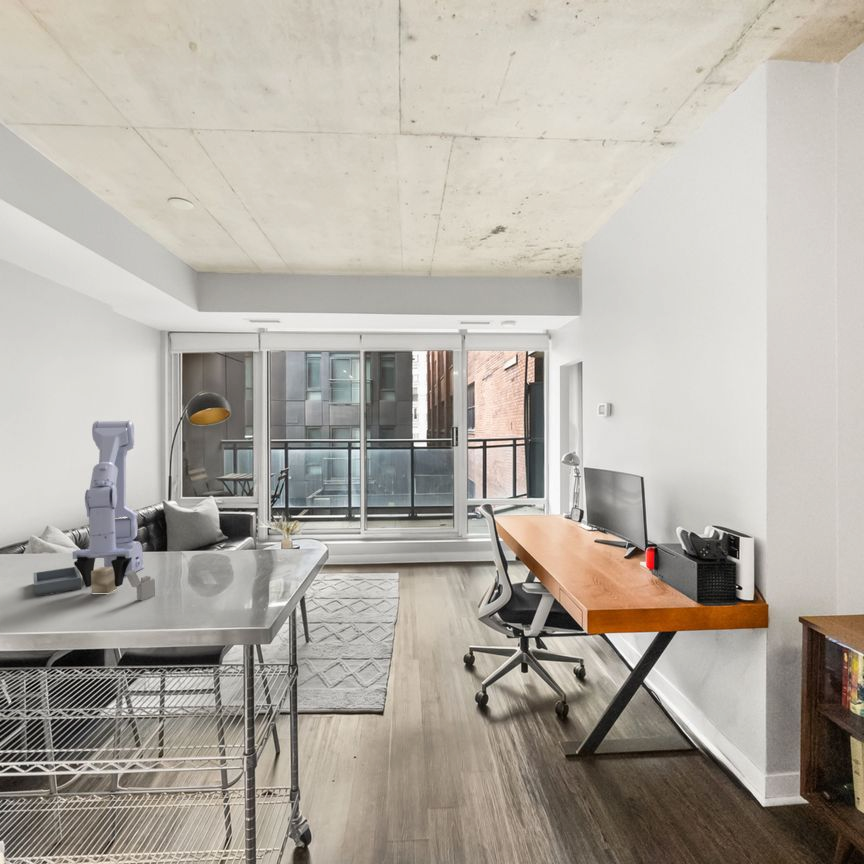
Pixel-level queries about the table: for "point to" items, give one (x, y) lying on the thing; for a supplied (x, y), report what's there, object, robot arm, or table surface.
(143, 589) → the lighter
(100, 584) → the block
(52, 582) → the tray
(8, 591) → the table surface
